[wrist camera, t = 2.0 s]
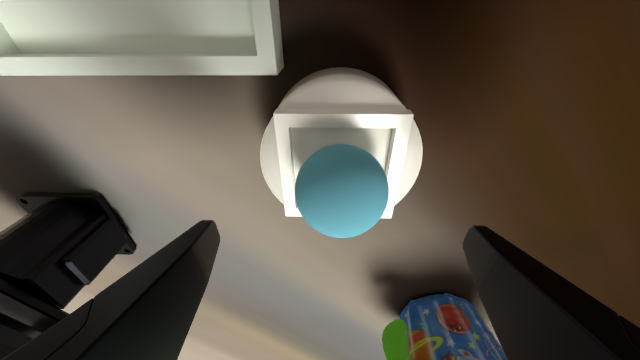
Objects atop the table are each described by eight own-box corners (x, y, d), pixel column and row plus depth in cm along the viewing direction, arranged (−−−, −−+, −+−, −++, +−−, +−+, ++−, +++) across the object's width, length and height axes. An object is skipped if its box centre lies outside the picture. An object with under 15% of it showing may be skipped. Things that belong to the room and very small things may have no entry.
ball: (302, 197, 13) (292, 257, 10) (297, 128, 11) (283, 177, 8) (375, 198, 13) (389, 259, 10) (385, 129, 11) (409, 179, 8)
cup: (280, 187, 17) (268, 229, 14) (265, 67, 13) (242, 86, 9) (392, 189, 17) (407, 233, 14) (417, 66, 13) (449, 86, 9)
